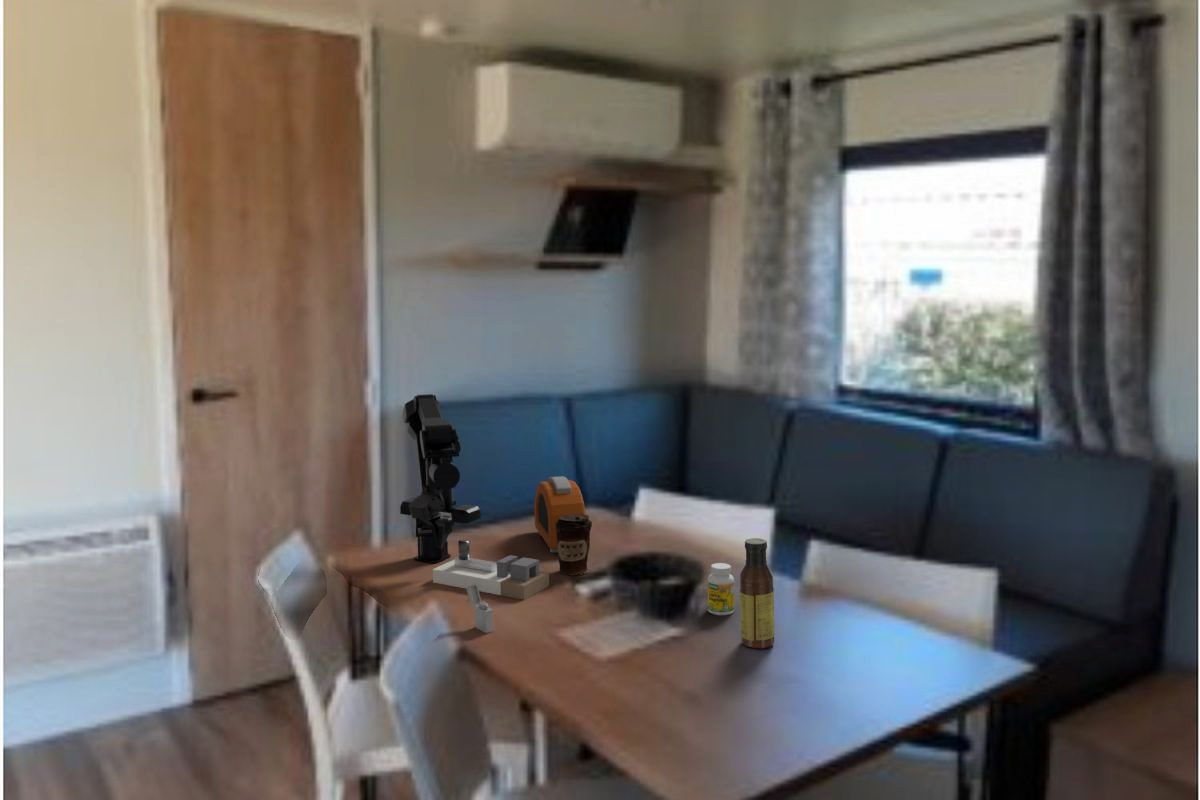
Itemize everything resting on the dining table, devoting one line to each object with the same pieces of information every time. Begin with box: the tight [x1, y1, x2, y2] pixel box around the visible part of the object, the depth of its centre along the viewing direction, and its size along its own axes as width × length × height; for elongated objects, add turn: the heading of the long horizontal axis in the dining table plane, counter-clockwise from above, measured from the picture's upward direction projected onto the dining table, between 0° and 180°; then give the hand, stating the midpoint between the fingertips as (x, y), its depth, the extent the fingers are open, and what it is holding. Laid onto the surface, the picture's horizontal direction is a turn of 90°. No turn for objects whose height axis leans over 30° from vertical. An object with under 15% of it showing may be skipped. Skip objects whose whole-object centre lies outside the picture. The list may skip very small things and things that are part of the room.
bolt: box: [453, 539, 497, 572], centre depth 222 cm, size 10×2×6 cm, turn 62°
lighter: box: [465, 584, 494, 634], centre depth 196 cm, size 7×2×8 cm, turn 39°
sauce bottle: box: [739, 537, 776, 650], centre depth 186 cm, size 6×6×20 cm
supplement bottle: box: [707, 562, 735, 616], centre depth 204 cm, size 5×5×10 cm
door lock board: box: [432, 554, 550, 600], centre depth 221 cm, size 24×10×6 cm, turn 62°
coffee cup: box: [555, 514, 593, 576], centre depth 229 cm, size 9×8×13 cm
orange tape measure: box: [534, 475, 587, 553], centre depth 252 cm, size 23×9×17 cm, turn 14°
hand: (440, 547), depth 227 cm, fingers closed
